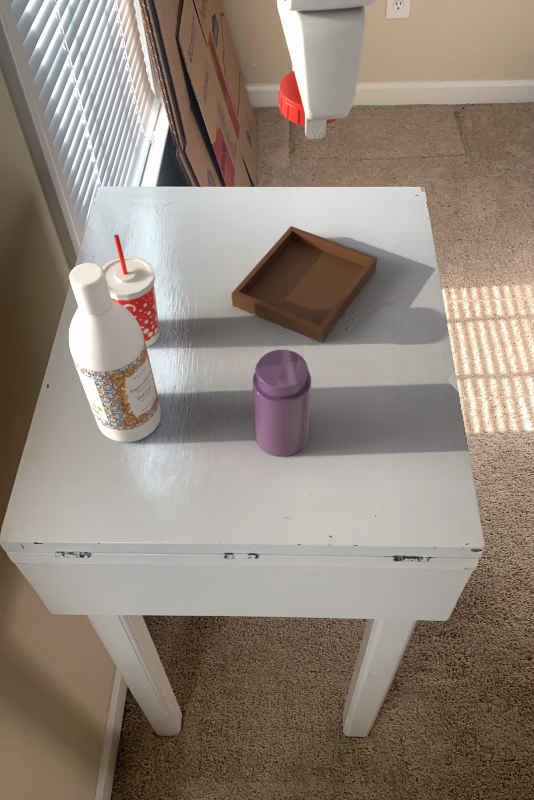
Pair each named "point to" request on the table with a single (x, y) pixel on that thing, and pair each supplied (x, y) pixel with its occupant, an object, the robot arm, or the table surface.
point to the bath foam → (112, 359)
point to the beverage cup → (134, 290)
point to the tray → (305, 283)
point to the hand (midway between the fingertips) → (308, 112)
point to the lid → (292, 100)
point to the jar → (281, 402)
